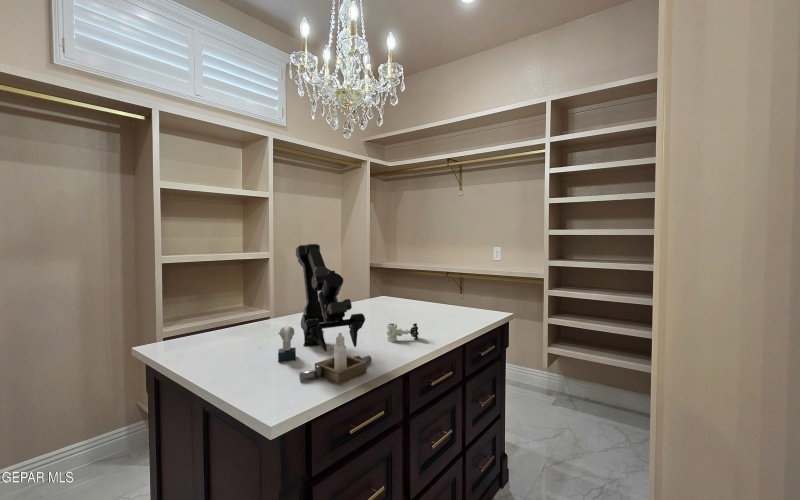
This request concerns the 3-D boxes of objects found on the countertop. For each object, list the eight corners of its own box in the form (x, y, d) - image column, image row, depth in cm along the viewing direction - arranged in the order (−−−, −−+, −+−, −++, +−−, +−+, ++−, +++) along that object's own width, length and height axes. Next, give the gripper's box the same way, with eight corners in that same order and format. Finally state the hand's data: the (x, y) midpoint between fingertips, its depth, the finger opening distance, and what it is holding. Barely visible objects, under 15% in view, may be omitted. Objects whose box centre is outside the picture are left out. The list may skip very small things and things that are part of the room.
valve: (388, 343, 134) (418, 342, 137) (388, 327, 134) (418, 325, 136) (385, 338, 141) (414, 337, 143) (385, 322, 141) (414, 321, 143)
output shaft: (320, 375, 105) (320, 363, 105) (322, 379, 102) (322, 367, 101) (299, 378, 102) (298, 366, 102) (300, 383, 99) (300, 371, 99)
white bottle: (330, 375, 103) (330, 335, 103) (336, 368, 109) (335, 330, 108) (345, 376, 103) (344, 335, 102) (349, 368, 108) (349, 330, 108)
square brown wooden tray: (338, 385, 98) (338, 373, 98) (314, 375, 105) (314, 363, 105) (366, 373, 106) (366, 361, 106) (342, 364, 113) (342, 353, 113)
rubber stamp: (295, 354, 123) (295, 323, 122) (295, 362, 115) (295, 329, 115) (279, 355, 121) (278, 324, 121) (277, 364, 114) (277, 331, 113)
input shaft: (359, 369, 109) (359, 358, 109) (351, 366, 111) (351, 355, 111) (373, 363, 114) (373, 353, 114) (365, 361, 116) (365, 350, 116)
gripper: (304, 293, 104) (314, 340, 95) (363, 288, 113) (377, 330, 104) (299, 313, 112) (308, 358, 102) (354, 307, 120) (367, 348, 111)
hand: (341, 348), depth 105 cm, fingers open, 9 cm apart
